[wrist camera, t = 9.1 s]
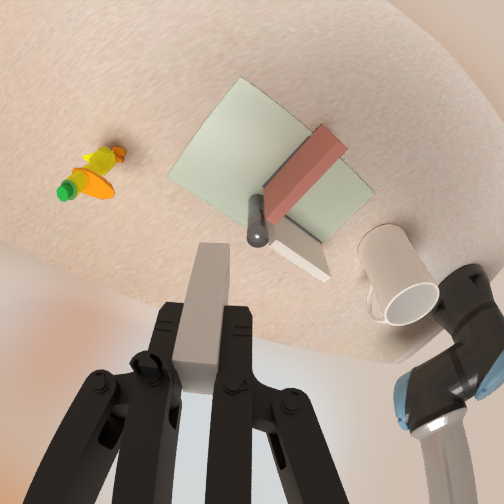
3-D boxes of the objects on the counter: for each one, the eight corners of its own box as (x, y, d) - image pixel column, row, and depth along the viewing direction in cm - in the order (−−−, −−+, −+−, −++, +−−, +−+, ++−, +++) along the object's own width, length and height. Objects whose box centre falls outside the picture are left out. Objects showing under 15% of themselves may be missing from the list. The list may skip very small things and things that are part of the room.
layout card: (374, 192, 33) (375, 193, 33) (298, 261, 41) (298, 263, 40) (240, 76, 25) (240, 76, 25) (167, 176, 32) (166, 177, 32)
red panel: (271, 194, 33) (274, 225, 28) (263, 189, 33) (265, 219, 27) (329, 131, 28) (348, 148, 23) (321, 124, 28) (339, 140, 22)
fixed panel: (320, 243, 38) (331, 277, 33) (314, 248, 39) (324, 283, 33) (272, 207, 35) (276, 239, 29) (266, 213, 35) (268, 246, 30)
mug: (372, 287, 44) (393, 344, 35) (334, 272, 42) (352, 335, 33) (416, 236, 38) (451, 291, 28) (380, 214, 36) (416, 272, 26)
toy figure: (146, 152, 30) (101, 197, 21) (137, 176, 32) (94, 227, 23) (102, 132, 28) (45, 169, 19) (94, 156, 30) (41, 200, 21)
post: (269, 200, 34) (273, 237, 28) (258, 212, 35) (259, 251, 29) (255, 190, 33) (256, 225, 27) (244, 203, 35) (242, 240, 28)
